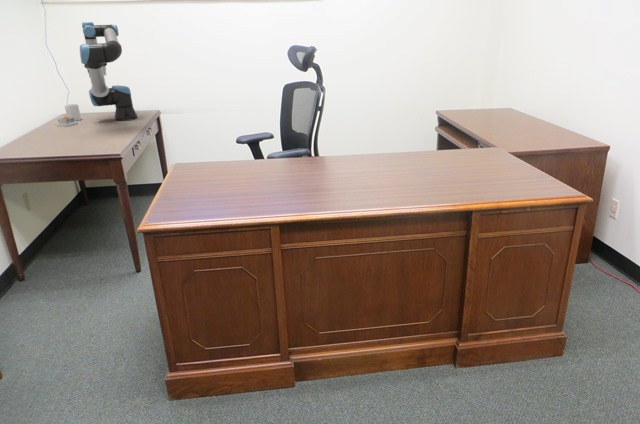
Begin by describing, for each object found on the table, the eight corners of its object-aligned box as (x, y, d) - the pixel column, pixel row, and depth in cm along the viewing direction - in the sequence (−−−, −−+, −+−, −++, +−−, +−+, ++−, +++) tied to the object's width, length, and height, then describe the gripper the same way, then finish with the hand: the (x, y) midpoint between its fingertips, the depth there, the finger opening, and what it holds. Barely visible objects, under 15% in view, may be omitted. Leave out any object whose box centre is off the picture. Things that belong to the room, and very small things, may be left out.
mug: (82, 117, 344) (79, 103, 340) (80, 120, 334) (77, 105, 330) (69, 118, 342) (66, 103, 337) (67, 121, 331) (63, 106, 327)
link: (74, 122, 322) (73, 117, 321) (67, 124, 316) (65, 119, 315) (66, 121, 324) (65, 117, 323) (58, 123, 318) (57, 119, 317)
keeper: (77, 123, 324) (75, 114, 321) (68, 126, 316) (65, 117, 313) (67, 123, 326) (65, 114, 323) (57, 126, 318) (55, 116, 315)
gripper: (100, 44, 340) (105, 74, 349) (74, 46, 318) (81, 78, 327) (108, 44, 338) (114, 74, 347) (83, 46, 316) (90, 78, 325)
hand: (98, 76), depth 337 cm, fingers open, 13 cm apart
